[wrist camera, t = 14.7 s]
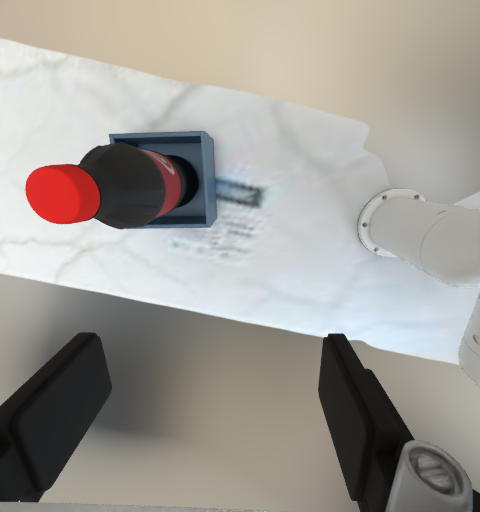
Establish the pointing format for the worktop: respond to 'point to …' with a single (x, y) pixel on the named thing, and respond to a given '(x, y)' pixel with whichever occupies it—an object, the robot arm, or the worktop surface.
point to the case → (202, 160)
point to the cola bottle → (112, 187)
